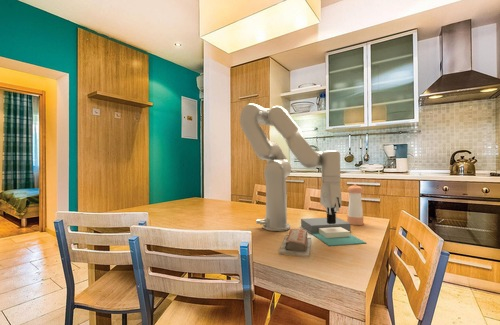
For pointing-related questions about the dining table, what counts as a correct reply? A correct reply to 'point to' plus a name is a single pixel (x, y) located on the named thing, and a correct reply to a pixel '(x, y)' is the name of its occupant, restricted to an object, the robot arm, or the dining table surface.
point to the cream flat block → (334, 232)
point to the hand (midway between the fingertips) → (331, 223)
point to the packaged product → (296, 243)
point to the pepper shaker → (355, 205)
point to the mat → (339, 240)
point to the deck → (323, 224)
